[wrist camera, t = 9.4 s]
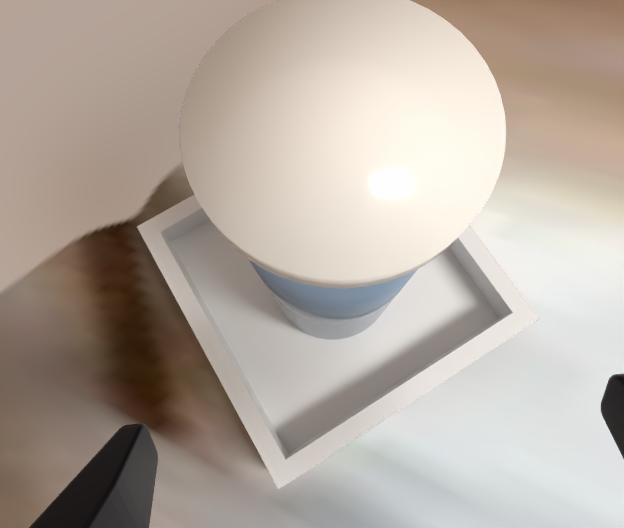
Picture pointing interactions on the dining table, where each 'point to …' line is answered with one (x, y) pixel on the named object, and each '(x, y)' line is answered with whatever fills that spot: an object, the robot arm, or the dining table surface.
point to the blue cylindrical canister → (341, 150)
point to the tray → (324, 352)
